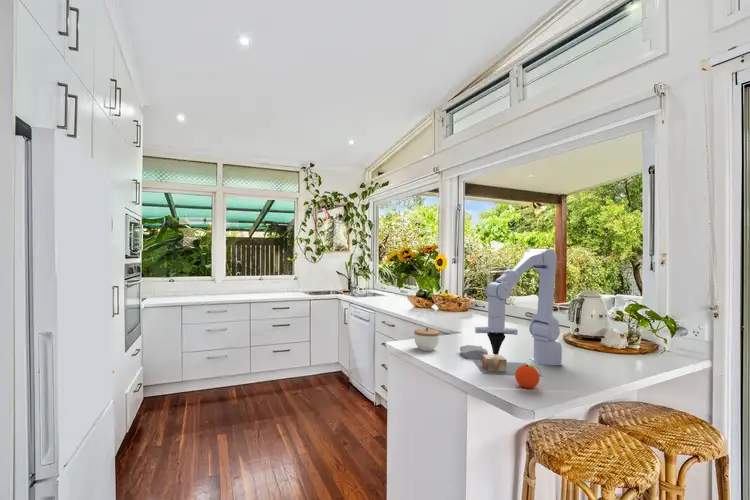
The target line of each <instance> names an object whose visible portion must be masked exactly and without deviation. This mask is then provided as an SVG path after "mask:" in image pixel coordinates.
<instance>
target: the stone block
mask: <svg viewBox="0 0 750 500" xmlns="http://www.w3.org/2000/svg"><path fill="white" fill-rule="evenodd" d="M459 351H460V352H459V353H460V354H461V357H463V358H464V359H465V360H466V359H467V360H482V354H483V355H489V353H488V352H489V351H488V350H487V349H486V348H483V346H482V345H473V344H472V345H471V344H467V345H462V346H460V347H459Z"/></svg>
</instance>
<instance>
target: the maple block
mask: <svg viewBox="0 0 750 500" xmlns="http://www.w3.org/2000/svg"><path fill="white" fill-rule="evenodd" d="M481 361H482V366H483V367H484V369H485V370H487V371H506V365H507V362H508V361H507V359H506V358H505V357H504V356H503V355H502V354H501V355H500V354H498V355H494V354H488V355H483V354H482V359H481Z"/></svg>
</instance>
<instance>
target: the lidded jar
mask: <svg viewBox="0 0 750 500" xmlns="http://www.w3.org/2000/svg"><path fill="white" fill-rule="evenodd" d="M413 333H414V343H415V345H416V346H417V348H418V350H420V351H424V352H433V351H434V350H435V349H436V348H437V346H438V344H439V341H440V331H438V330H436V329H431V328H429V327H428V326H425V328H417V329H414V331H413Z"/></svg>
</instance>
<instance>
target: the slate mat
mask: <svg viewBox="0 0 750 500" xmlns="http://www.w3.org/2000/svg"><path fill="white" fill-rule="evenodd" d="M472 362H473V363H474V364H475V366H476V367H477V368H478V369H479V371H480V372H481V373H482V374H483V375H497V376H499V375H500V376H515V373H516V370H517V369H518V368H519V367H520V366H522V365H529V364H528V363H526V362H516V361H515V362H513V361H507V365H506V371H487V370H485V369H484V367H483V366H482V360H472ZM540 377H541V378H542V377H544V376H543V375H542V374H541V373H539V378H540Z"/></svg>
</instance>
